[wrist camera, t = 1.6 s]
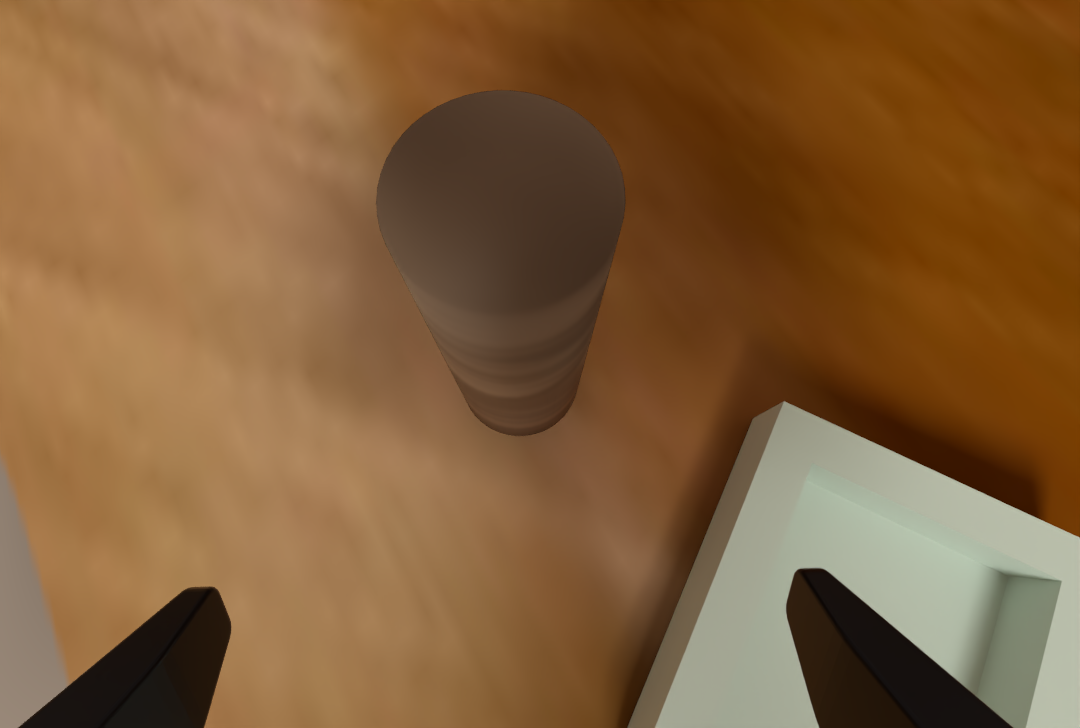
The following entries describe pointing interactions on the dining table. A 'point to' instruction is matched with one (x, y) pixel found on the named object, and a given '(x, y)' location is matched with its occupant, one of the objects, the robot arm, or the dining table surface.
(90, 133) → the dining table surface
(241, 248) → the dining table surface
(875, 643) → the robot arm
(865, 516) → the tray
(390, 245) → the brown round cylinder
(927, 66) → the dining table surface
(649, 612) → the dining table surface
